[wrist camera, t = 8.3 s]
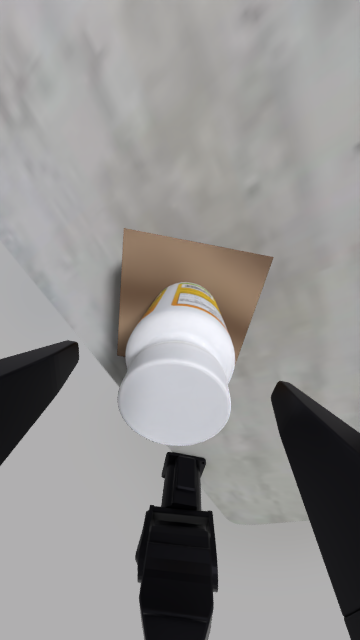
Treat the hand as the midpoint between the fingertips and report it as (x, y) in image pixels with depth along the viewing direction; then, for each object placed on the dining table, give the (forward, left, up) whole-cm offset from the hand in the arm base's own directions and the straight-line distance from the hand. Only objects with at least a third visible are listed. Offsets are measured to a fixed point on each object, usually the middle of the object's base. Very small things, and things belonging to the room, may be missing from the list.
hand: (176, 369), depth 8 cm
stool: (0, 0, -13) cm, 13 cm away
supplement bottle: (0, 0, -8) cm, 8 cm away
